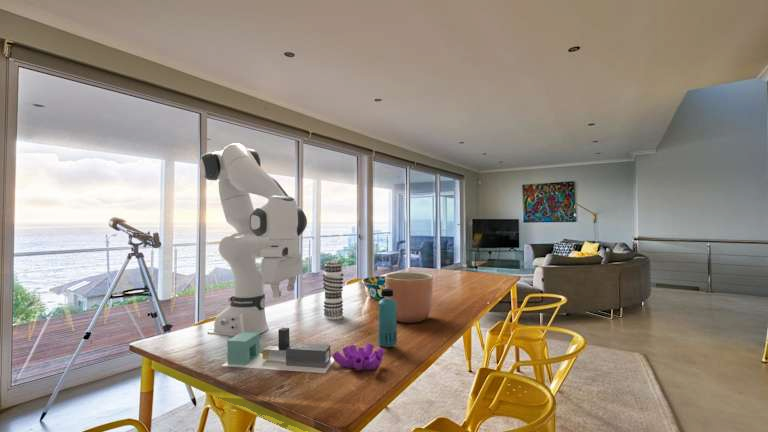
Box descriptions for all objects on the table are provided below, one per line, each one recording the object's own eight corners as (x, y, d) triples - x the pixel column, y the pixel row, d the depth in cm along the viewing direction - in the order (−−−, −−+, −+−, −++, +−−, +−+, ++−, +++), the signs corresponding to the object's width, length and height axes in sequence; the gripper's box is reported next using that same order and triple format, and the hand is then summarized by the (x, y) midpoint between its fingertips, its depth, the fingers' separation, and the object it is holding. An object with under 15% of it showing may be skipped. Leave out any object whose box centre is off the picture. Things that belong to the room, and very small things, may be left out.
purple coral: (349, 371, 112) (362, 342, 116) (384, 386, 102) (397, 353, 106) (326, 357, 105) (341, 327, 110) (361, 372, 95) (376, 338, 100)
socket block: (227, 363, 108) (227, 340, 108) (242, 353, 115) (242, 332, 115) (245, 365, 107) (245, 341, 107) (259, 354, 114) (259, 332, 114)
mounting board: (221, 369, 106) (221, 365, 106) (242, 354, 117) (242, 351, 117) (324, 376, 101) (324, 372, 101) (336, 360, 112) (336, 357, 112)
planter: (440, 317, 160) (440, 274, 160) (419, 329, 142) (419, 281, 142) (400, 310, 171) (400, 270, 171) (376, 321, 153) (375, 277, 153)
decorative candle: (333, 312, 168) (332, 259, 168) (348, 316, 162) (347, 260, 162) (318, 317, 160) (318, 261, 160) (333, 320, 155) (333, 263, 155)
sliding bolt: (262, 359, 108) (262, 329, 108) (267, 355, 111) (267, 326, 111) (326, 363, 105) (325, 332, 105) (329, 359, 108) (329, 329, 108)
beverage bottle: (383, 352, 118) (383, 292, 118) (374, 346, 124) (374, 288, 124) (400, 349, 121) (400, 290, 121) (391, 343, 127) (390, 286, 127)
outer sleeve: (286, 365, 106) (286, 348, 106) (293, 358, 111) (293, 342, 111) (325, 368, 104) (324, 350, 104) (330, 361, 109) (330, 344, 109)
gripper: (288, 245, 120) (288, 287, 120) (256, 251, 100) (257, 301, 100) (306, 245, 119) (306, 287, 119) (278, 251, 99) (278, 302, 98)
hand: (284, 294), depth 109 cm, fingers open, 8 cm apart
